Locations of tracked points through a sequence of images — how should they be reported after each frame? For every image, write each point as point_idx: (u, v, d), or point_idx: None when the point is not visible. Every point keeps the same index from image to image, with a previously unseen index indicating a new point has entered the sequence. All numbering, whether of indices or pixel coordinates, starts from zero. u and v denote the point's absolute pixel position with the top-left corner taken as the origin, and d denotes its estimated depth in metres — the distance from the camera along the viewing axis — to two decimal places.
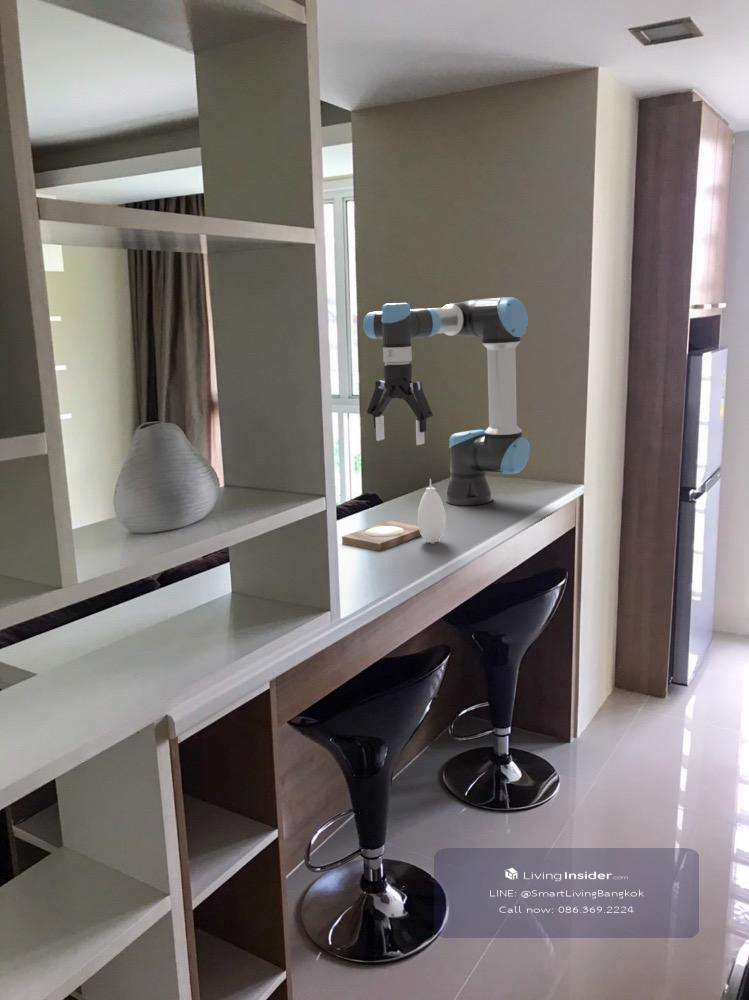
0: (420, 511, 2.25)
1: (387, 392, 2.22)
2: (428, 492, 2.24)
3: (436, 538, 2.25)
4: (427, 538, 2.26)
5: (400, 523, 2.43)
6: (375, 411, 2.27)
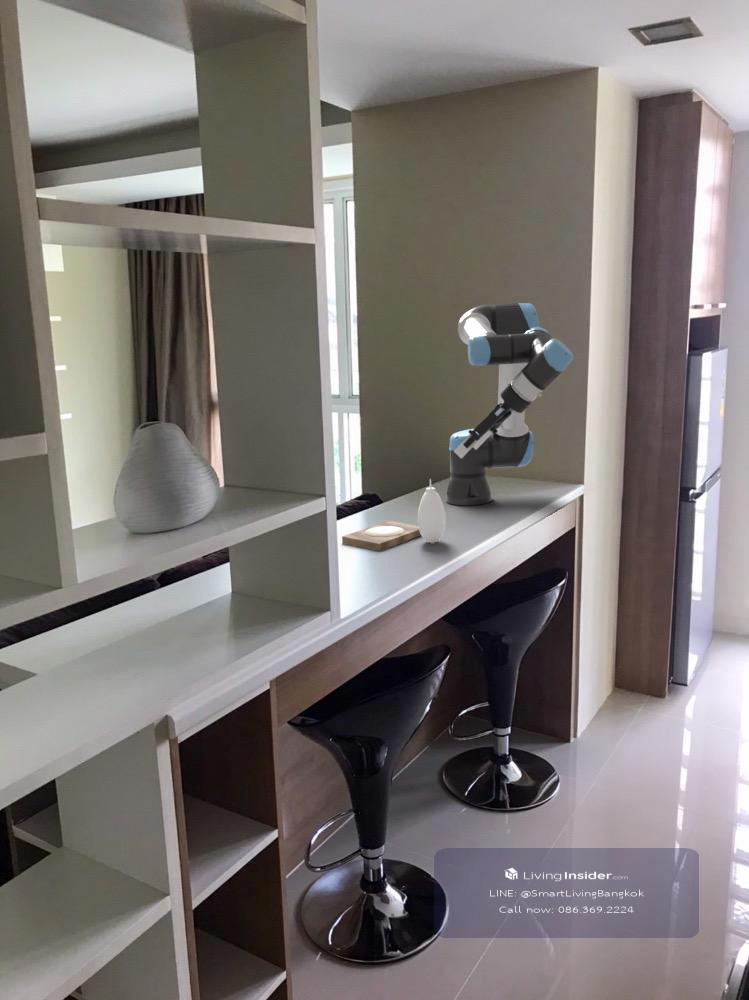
0: (420, 511, 2.25)
1: (502, 420, 2.11)
2: (428, 492, 2.24)
3: (436, 538, 2.25)
4: (427, 538, 2.26)
5: (400, 523, 2.43)
6: (481, 436, 2.09)
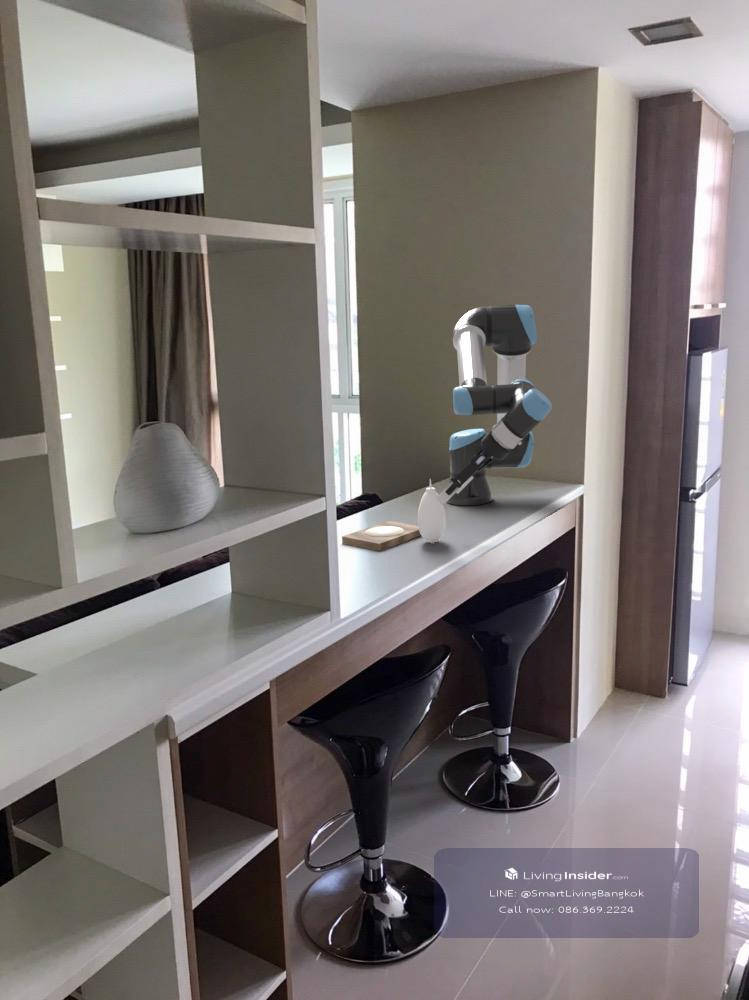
0: (420, 511, 2.25)
1: (483, 467, 2.15)
2: (428, 492, 2.24)
3: (436, 538, 2.25)
4: (427, 538, 2.26)
5: (400, 523, 2.43)
6: (463, 483, 2.13)
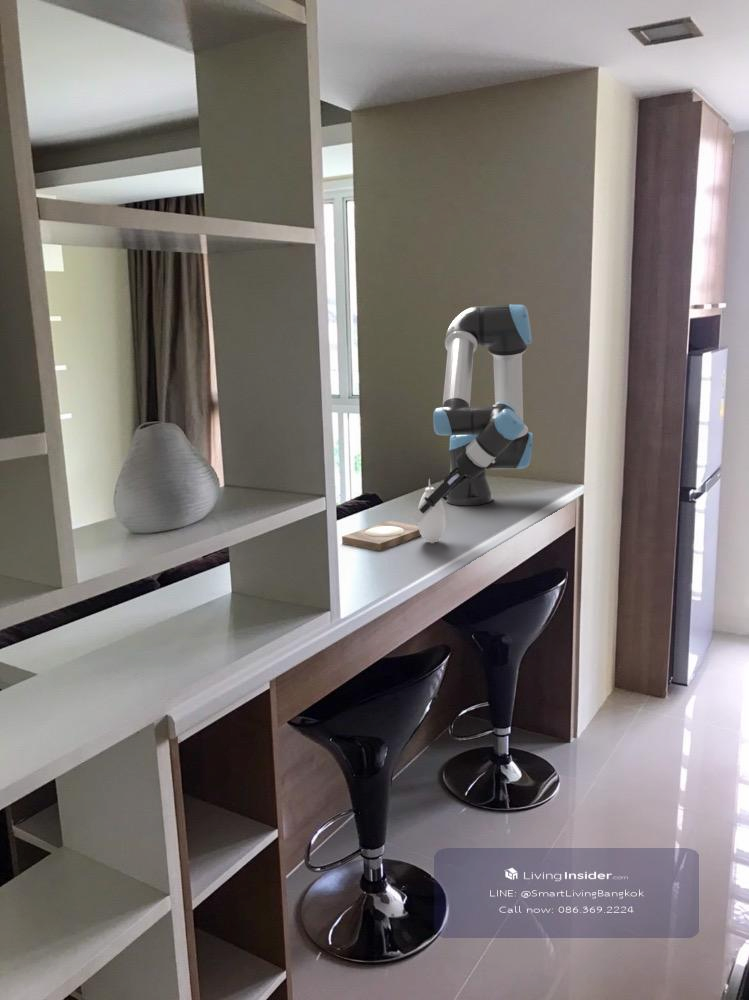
0: None
1: (457, 484, 2.20)
2: (427, 492, 2.24)
3: (436, 538, 2.25)
4: (427, 538, 2.26)
5: (400, 523, 2.43)
6: None
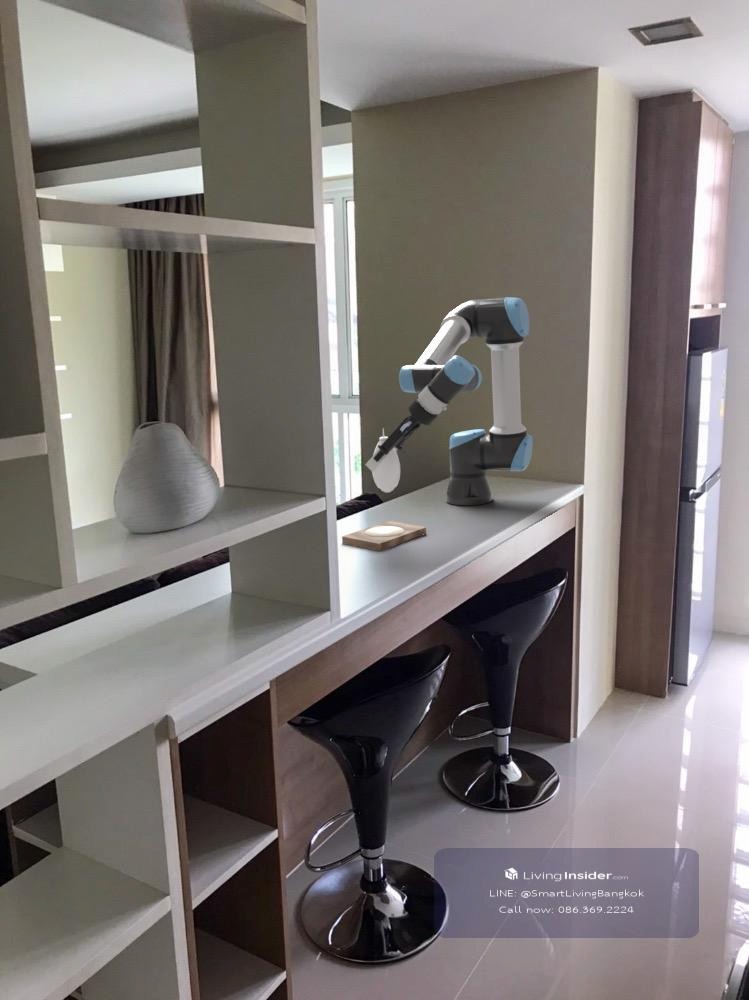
0: None
1: (410, 432, 2.22)
2: (381, 441, 2.26)
3: (390, 487, 2.28)
4: (382, 487, 2.28)
5: (400, 523, 2.43)
6: (390, 450, 2.23)
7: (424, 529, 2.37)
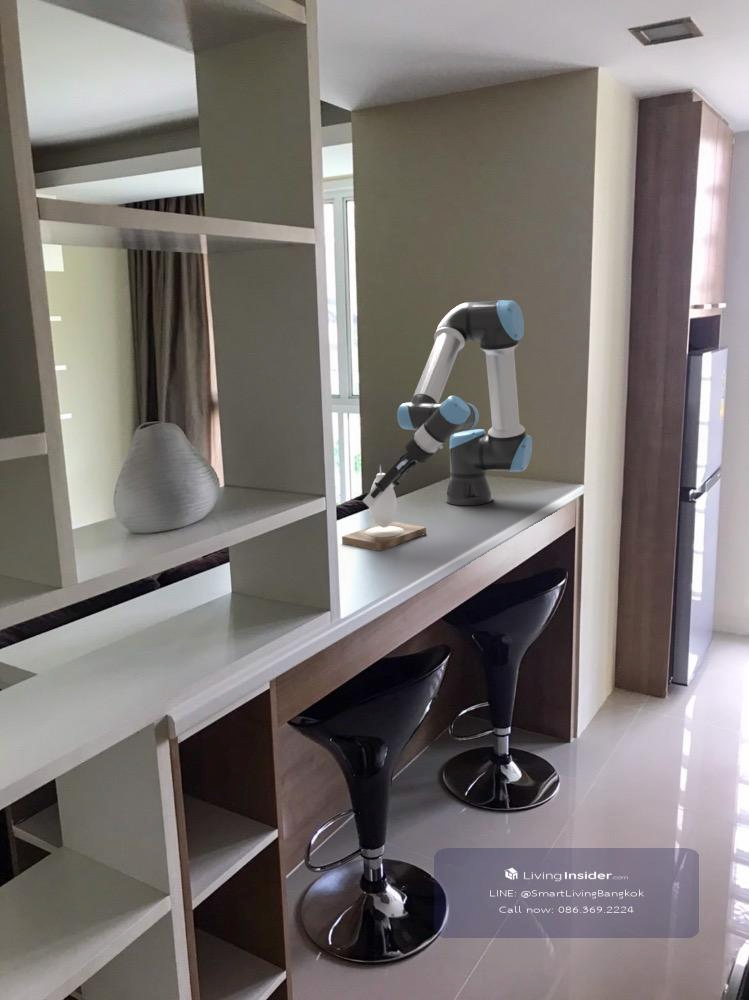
0: None
1: (407, 470, 2.26)
2: (378, 478, 2.30)
3: (387, 522, 2.31)
4: (378, 523, 2.31)
5: (400, 523, 2.43)
6: (386, 487, 2.26)
7: (424, 529, 2.37)
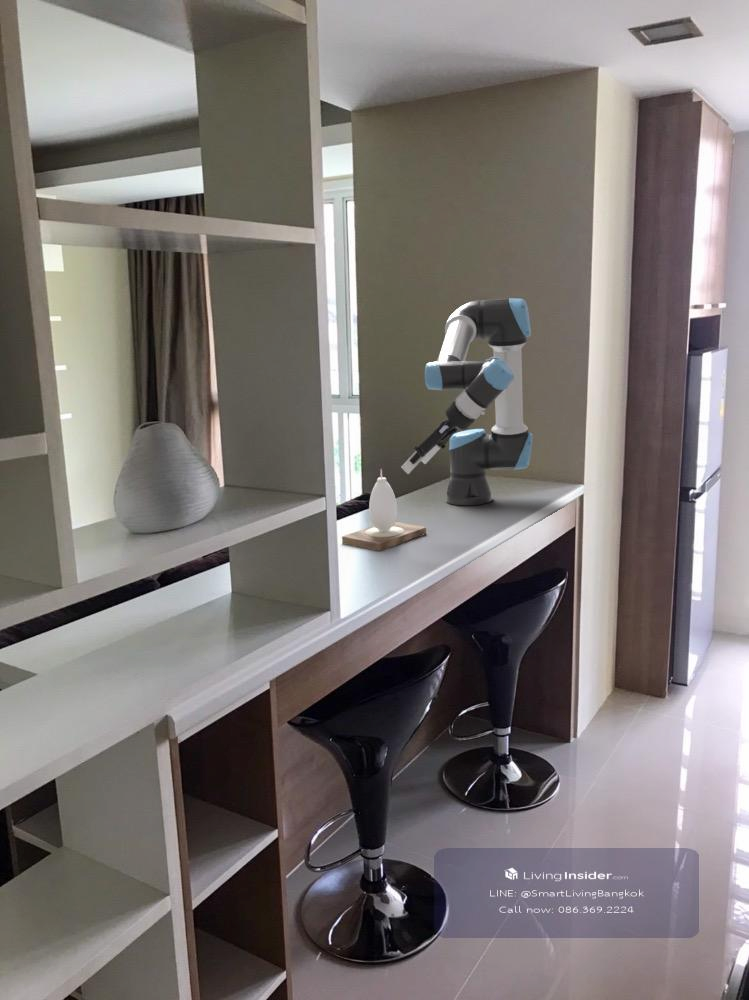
0: (371, 501, 2.30)
1: (447, 436, 2.18)
2: (379, 482, 2.30)
3: (387, 527, 2.31)
4: (378, 527, 2.31)
5: (400, 523, 2.43)
6: (426, 453, 2.16)
7: (424, 529, 2.37)
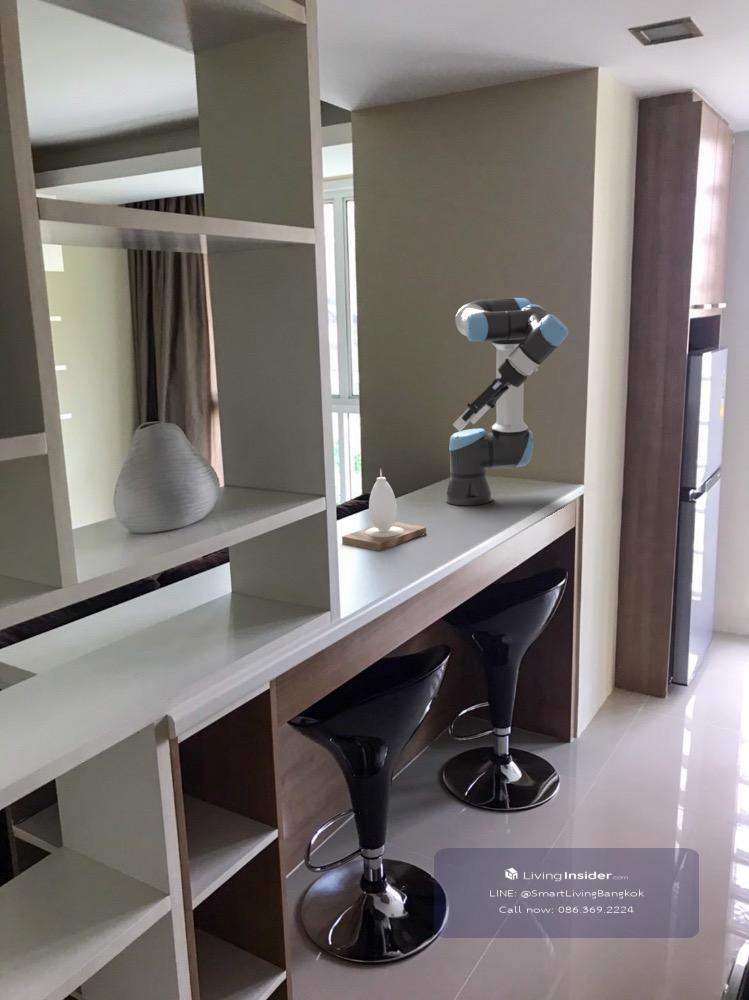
0: (371, 500, 2.31)
1: (500, 393, 2.17)
2: (379, 481, 2.30)
3: (387, 526, 2.31)
4: (378, 526, 2.31)
5: (400, 523, 2.43)
6: (479, 409, 2.15)
7: (424, 529, 2.37)
